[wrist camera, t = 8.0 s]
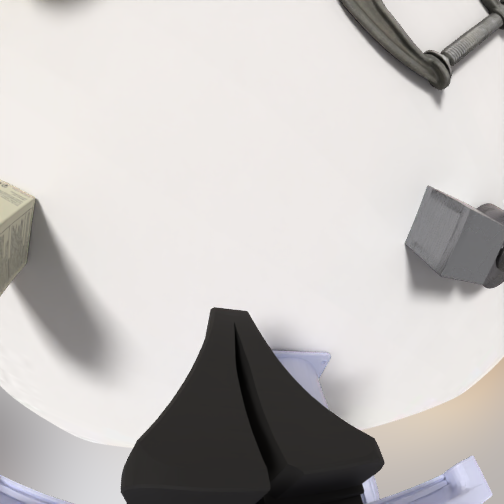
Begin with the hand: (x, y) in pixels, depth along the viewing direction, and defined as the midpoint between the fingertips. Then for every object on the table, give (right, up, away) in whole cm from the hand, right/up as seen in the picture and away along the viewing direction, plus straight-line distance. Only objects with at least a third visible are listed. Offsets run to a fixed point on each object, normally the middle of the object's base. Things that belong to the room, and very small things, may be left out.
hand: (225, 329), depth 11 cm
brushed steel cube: (+16, +5, +10) cm, 20 cm away
